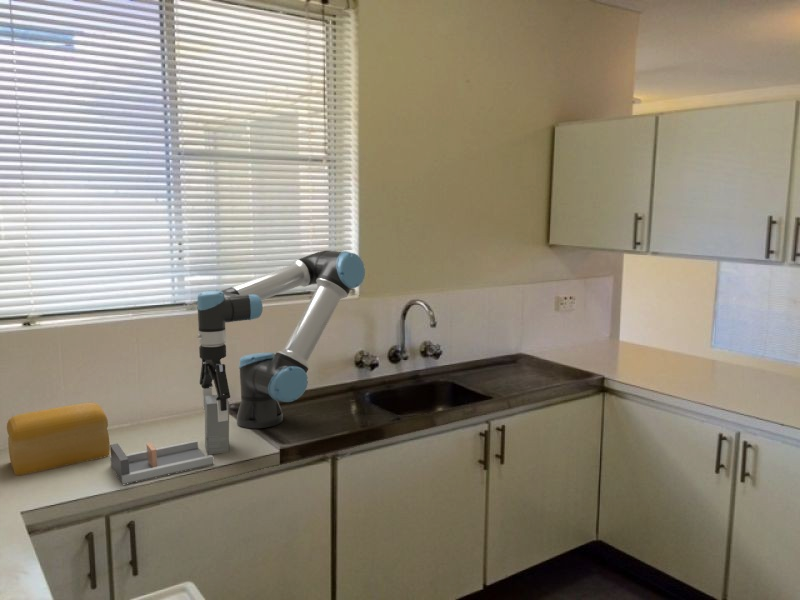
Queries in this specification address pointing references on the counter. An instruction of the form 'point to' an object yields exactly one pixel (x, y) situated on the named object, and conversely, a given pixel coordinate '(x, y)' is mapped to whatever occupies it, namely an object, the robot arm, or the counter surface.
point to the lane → (167, 461)
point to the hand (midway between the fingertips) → (215, 415)
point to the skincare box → (215, 428)
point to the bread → (57, 437)
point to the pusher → (151, 455)
